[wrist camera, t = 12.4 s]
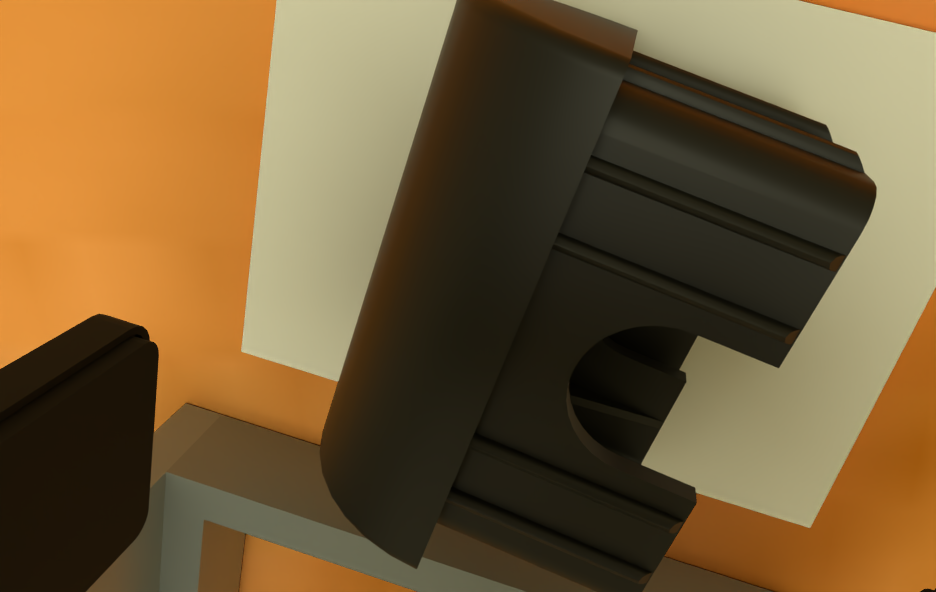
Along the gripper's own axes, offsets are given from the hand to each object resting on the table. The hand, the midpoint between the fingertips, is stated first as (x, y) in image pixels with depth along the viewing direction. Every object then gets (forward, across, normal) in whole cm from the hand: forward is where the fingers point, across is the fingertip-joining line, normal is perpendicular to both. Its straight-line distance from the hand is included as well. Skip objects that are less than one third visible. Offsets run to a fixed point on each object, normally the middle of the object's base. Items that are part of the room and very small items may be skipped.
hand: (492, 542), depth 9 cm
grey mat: (+11, 0, -1) cm, 11 cm away
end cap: (+11, 0, -1) cm, 11 cm away
